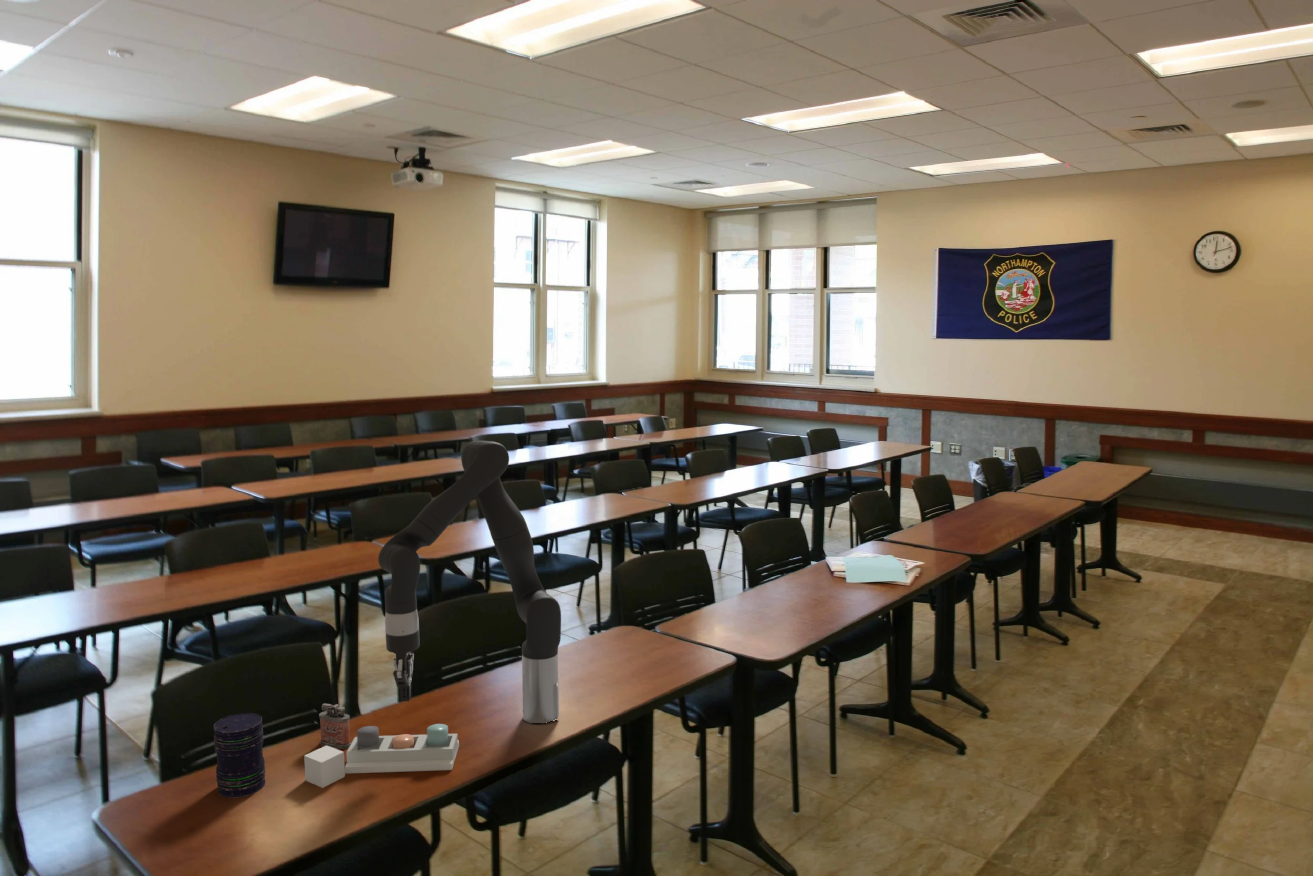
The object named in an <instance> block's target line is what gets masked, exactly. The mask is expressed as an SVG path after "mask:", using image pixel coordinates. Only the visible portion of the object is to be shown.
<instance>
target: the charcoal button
mask: <svg viewBox="0 0 1313 876" xmlns="http://www.w3.org/2000/svg"><path fill="white" fill-rule="evenodd" d="M379 736H380V731H379V727H378V726H376V725H367V726H366V725H365V726H362V727H361V728H359V729H357V731H356V737H357V743H358V746H360V747H372V746H375V745H377V744H378V743H379Z"/></svg>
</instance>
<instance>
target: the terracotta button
mask: <svg viewBox="0 0 1313 876" xmlns="http://www.w3.org/2000/svg"><path fill="white" fill-rule="evenodd" d="M412 735H413V734H409V733H403V734H398V736H396V737H394V738H393V740H392V741H393V749H405V748H414V737H413V736H412Z"/></svg>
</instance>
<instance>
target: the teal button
mask: <svg viewBox="0 0 1313 876" xmlns="http://www.w3.org/2000/svg"><path fill="white" fill-rule="evenodd" d="M448 734H449V726H448V725H446V724H444V723H435V724H432V725H430V726H429V725H428V727H427V728H426V735H427V742H428V743H429V744H431V745H441V744H444V743H446V742H447V741H448Z"/></svg>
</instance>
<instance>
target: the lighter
mask: <svg viewBox="0 0 1313 876" xmlns="http://www.w3.org/2000/svg"><path fill="white" fill-rule="evenodd" d="M321 710H322V712H320V713H319V714H318V717H319V720H320V721H319V722H320V724H319V725H320V740H319V741H320V743H319V744H320V745H322V746H323V747H324V746H326V745H327V746H330V747H332V748H335V749H339V750H340V749H343V750H345V749H349V747H350V745H351V743H352V742H351V739H350V737H351V734H350V719H351V716H350V714H347V713H345V710H346V708H345V706H340V704H338V703H336V704H334V705H333V704H331V703H322V705H321Z"/></svg>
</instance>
